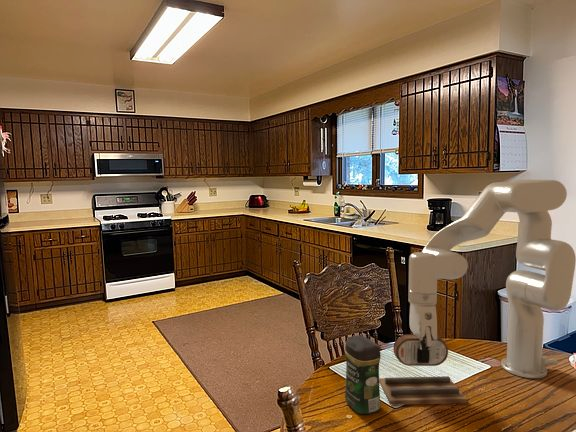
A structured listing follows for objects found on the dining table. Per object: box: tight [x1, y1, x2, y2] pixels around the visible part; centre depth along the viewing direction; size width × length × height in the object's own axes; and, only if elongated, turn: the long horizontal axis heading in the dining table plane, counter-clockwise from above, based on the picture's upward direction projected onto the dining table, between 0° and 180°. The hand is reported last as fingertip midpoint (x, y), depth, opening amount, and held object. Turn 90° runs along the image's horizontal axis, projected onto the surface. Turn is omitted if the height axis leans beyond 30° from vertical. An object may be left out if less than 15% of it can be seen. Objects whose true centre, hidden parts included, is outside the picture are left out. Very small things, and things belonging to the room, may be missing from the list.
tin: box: [392, 334, 449, 367], centre depth 113 cm, size 15×3×8 cm, turn 91°
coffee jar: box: [344, 334, 382, 415], centre depth 107 cm, size 10×8×19 cm
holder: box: [379, 375, 468, 406], centre depth 114 cm, size 21×12×3 cm, turn 91°
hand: (421, 359), depth 113 cm, fingers closed on tin, 2 cm apart
